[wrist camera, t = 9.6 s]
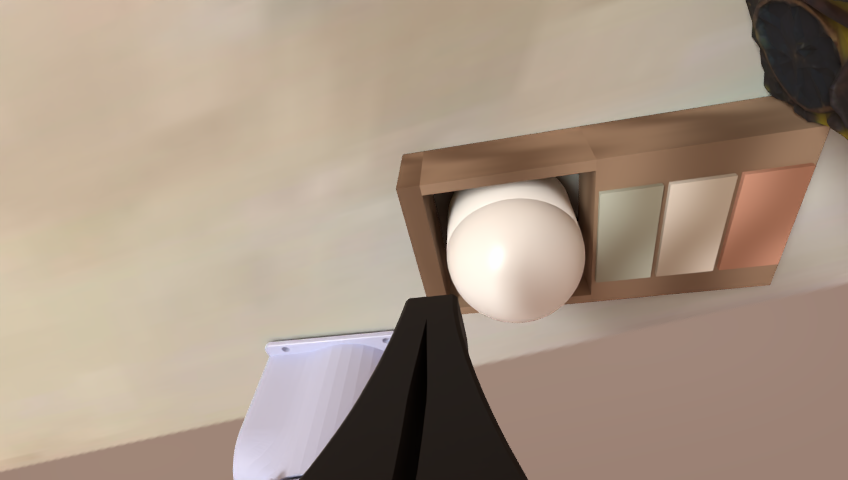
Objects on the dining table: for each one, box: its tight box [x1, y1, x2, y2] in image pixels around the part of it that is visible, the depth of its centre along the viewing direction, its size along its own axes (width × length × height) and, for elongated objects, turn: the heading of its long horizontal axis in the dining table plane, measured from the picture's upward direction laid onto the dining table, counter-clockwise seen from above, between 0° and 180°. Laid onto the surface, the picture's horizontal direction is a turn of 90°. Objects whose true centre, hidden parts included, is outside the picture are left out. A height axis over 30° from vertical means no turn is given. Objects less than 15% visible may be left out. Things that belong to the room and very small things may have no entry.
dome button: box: [447, 177, 585, 323], centre depth 20 cm, size 6×6×6 cm
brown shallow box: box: [396, 96, 830, 314], centre depth 21 cm, size 16×8×3 cm, turn 102°
